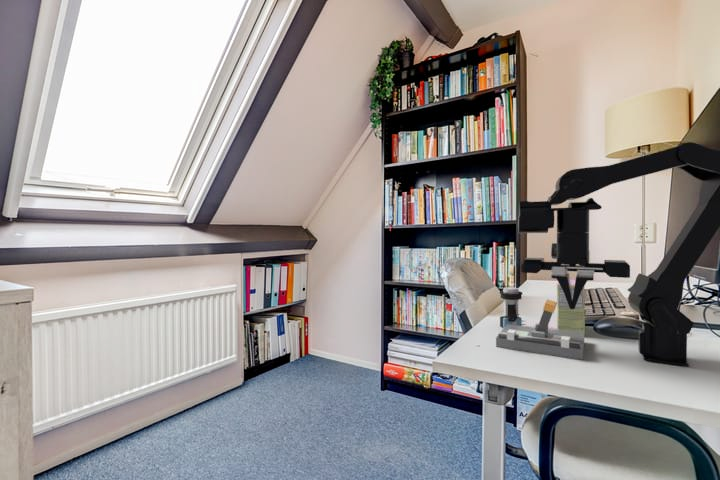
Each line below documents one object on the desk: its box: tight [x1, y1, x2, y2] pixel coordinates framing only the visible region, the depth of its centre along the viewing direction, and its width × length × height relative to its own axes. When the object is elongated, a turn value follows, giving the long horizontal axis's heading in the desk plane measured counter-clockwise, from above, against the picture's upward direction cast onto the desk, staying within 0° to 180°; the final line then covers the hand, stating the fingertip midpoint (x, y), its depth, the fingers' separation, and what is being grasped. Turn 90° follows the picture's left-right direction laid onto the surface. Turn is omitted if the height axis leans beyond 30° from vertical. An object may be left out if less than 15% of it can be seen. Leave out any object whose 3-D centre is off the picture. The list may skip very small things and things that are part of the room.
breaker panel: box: [495, 323, 585, 361], centre depth 80 cm, size 16×12×4 cm
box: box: [556, 279, 586, 337], centre depth 90 cm, size 10×6×12 cm, turn 149°
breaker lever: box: [537, 299, 557, 332], centre depth 78 cm, size 2×4×7 cm, turn 148°
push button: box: [499, 286, 527, 329], centre depth 93 cm, size 7×5×10 cm
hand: (572, 308), depth 75 cm, fingers closed
